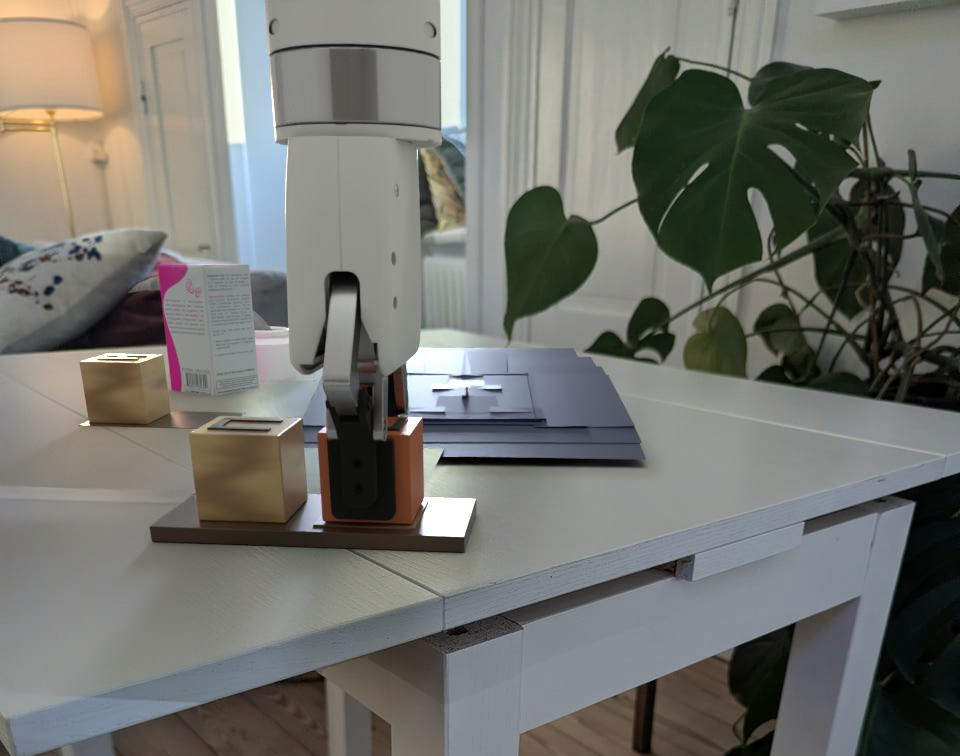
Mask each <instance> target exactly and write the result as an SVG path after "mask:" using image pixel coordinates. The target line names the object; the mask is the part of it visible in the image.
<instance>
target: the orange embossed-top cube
mask: <svg viewBox="0 0 960 756" xmlns="http://www.w3.org/2000/svg"><path fill="white" fill-rule="evenodd" d="M387 438H394V453H395V485H396V514H395V515H394V517H393V518H392V519H391V520H388V521H384V520H350V519H337V518H335V517H334V516H333V515H332V513H331V500H330V484H329V467H328V451H327V433H326V426H325V427H324V428H323V429H321V430H320V431H319V432H318V433H317V440H318V448H317V455H318V456H317V457H318V470H319V487H320V494H321V504H322V520H323V521H336V522H366V523H397V524H412V522H413V520H414V518H415V516H416V514H417V512H418V510H419V508H420V506H421V504H422V502H423V500H424V497H425V474H424V473H425V471H424V470H425V469H424V467H425V465H424V448H423V418H422V417H388V430H387Z"/></svg>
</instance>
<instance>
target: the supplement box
mask: <svg viewBox="0 0 960 756" xmlns="http://www.w3.org/2000/svg"><path fill="white" fill-rule="evenodd" d="M157 273H158V276H159V282H160V290H159V291H160V298H161V308H162V318H163V326H164V334H165V343H166V353H167V362H168V369H169V370H168V371H169V380H170V390H171V391H175V392H180V393H181V392H182V393H189V394H196V395H203V396H212V397H218V396H223V395H227V394H228V395H229V394H233V393H238V392H239V393H240V392H243V391H244V392H245V391H250V390H254V389H255V390H256V389H259V388H260V381H258V368H257V356H256V344H255V332H254V319H253V311H254V306H253V297H252V296H253V295H252V286H251V285H252V283H251V270H250V264H248V263H247V264H246V263H218V262H217V263H213V262H212V263H211V262H209V263H208V262H206V263H205V262H204V263H203V262H202V263H201V262H200V263H158V264H157Z"/></svg>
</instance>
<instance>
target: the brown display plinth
mask: <svg viewBox="0 0 960 756" xmlns="http://www.w3.org/2000/svg"><path fill="white" fill-rule="evenodd" d="M302 419H303V417H277V416H276V417H271V416H240V417H239V416H219V417H217V418H215V419H214V420H212V421H210V422H208V423H207V424H205V425H203V426H201V427H200V428H198V429H193V430H192V431H191V432H189V433H188V440H189V451H190V457H191V467H192V474H193V483H194V484H193V485H194V493H193V494H191V495H190V496H189V497H188V498H186V499H185V500H183V501H182V502H180V503H179V504H178V505H176V506H175V507H174V508H173V509H171V510H170V511H168V512H167V513H166V514H165V515H163V516H162V517H160V518H159V519H157V521H155V522H153V523H152V524H151V525H149V533H150V540H151V542H166V543H190V544H191V543H192V544H217V545H218V544H219V545H220V544H221V545H246V544H248V545H247V546H249V545H250V546H251V545H252V546H274V547H275V546H276V547H278V546H280V547H304V548H305V547H307V548H309V547H310V548H335V549H337V548H338V549H360V550H361V549H362V550H363V549H364V550H388V551H389V550H393V551H415V552H416V551H417V552H418V551H421V552H444V553H445V552H447V553H448V552H449V553H465V551H466V548H467V544H468V540H469V537H470V534H471V531H472V528H473V526H474V525H473V524H474V521H475V518H476V515H477V502H478V501H477V499H476V498H457V497H456V498H455V497H426V496H424V500H423V502H422V504H421V506H420V508H419V510H418V512H417V514H416V516H415V518H414V520H413V522H412V524H397V523H366V522H336V521H323V520H322V504H321V493H308V481H307V467H306V466H307V465H306V451H305V448H304V436H303V422H302Z"/></svg>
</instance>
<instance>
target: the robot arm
mask: <svg viewBox="0 0 960 756" xmlns="http://www.w3.org/2000/svg"><path fill="white" fill-rule="evenodd" d="M264 9H265V23H266V24H265V25H266V35H267V50H268V56H269V58H268V63H269V64H268V65H269V77H270V91H271V103H272V118H273V127H274V142H275V144H278V145H281V146H287V150H286V165H285V190H284V193H285V197H284V198H285V200H284V201H285V202H284V203H285V204H284V215H285V216H284V219H285V221H284V222H285V232H284V233H285V263H286V264H285V268H286V298H287V299H286V302H287V303H286V304H287V328H288V331H289V352H290V361H291V364H292V366H293V367H294V368H295V369H296V370H297V371H298V372H299V373H300V374H302V375H310V374H312V373H314V372H315V373H316V372H318V371H320V370H321V369H322V376H321V377H322V384H323V389H324V392H325V394H326V401H325V402H326V433H327V451H328V467H329V484H330V500H331V513H332V515H333V516H334V517H335V518H337V519H350V520H384V521H388V520H391V519H392V518H393V517H394V515H395V514H396V485H395V453H394V438H387V430H388V417H398V416H407V415H408V410H409V399H408V384H407V369H406V362H407V361H408V360H409V359H410V358H411V357H412V356H413V355H414V354H415V353H416V352H417V351H418V348H420V343H421V333H422V330H421V329H422V242H421V240H422V235H421V234H422V233H421V208H420V207H421V206H420V205H421V204H420V198H421V192H420V179H419V178H420V177H419V176H420V175H419V154H418V152H419V151H418V150H422V149H431V148H438V147H441V146H442V145H443V140H442V139H443V137H442V136H443V133H442V67H441V66H442V62H441V60H442V48H441V47H442V45H441V42H442V41H441V40H442V37H441V35H442V34H441V33H442V31H441V26H442V25H441V0H264Z"/></svg>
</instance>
